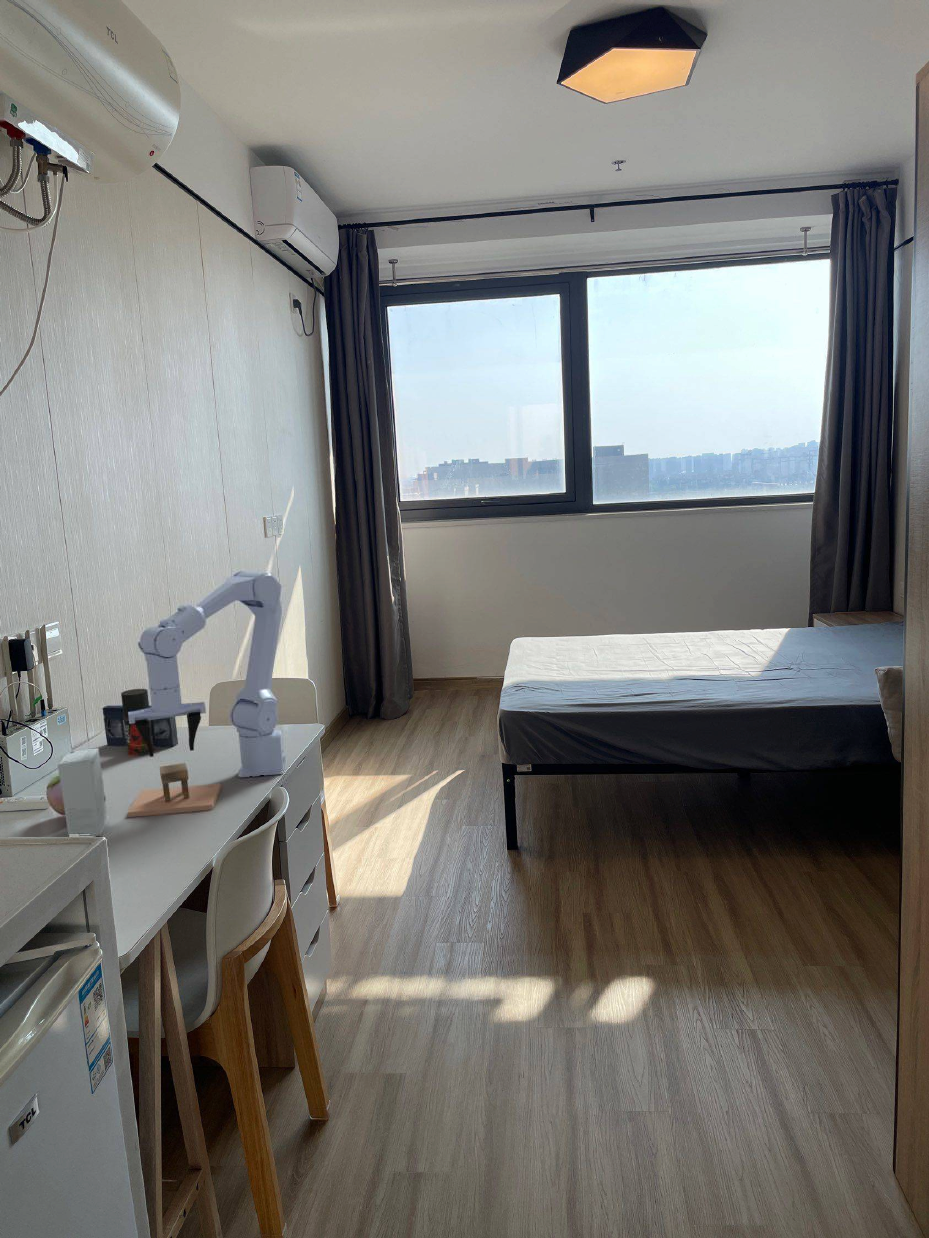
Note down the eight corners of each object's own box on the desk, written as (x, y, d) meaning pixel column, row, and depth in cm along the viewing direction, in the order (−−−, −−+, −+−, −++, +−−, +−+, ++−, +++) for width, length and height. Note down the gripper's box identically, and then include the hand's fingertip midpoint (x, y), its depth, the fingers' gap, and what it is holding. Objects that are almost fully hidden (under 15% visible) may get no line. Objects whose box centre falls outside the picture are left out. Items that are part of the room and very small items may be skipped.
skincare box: (101, 837, 160) (92, 760, 158) (66, 841, 159) (56, 763, 156) (109, 820, 168) (100, 746, 166) (76, 824, 167) (66, 749, 164)
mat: (220, 788, 183) (220, 783, 183) (212, 809, 171) (212, 804, 171) (142, 795, 181) (141, 790, 181) (128, 817, 169) (127, 812, 169)
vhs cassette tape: (106, 746, 217) (101, 707, 215) (113, 742, 220) (109, 704, 218) (172, 748, 213) (168, 708, 211) (179, 744, 216) (174, 705, 214)
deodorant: (122, 754, 209) (115, 694, 206) (140, 747, 214) (133, 688, 212) (142, 756, 207) (135, 695, 204) (159, 749, 212) (152, 689, 209)
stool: (188, 790, 179) (185, 762, 178) (190, 798, 175) (187, 770, 174) (162, 795, 178) (159, 766, 177) (164, 803, 173) (161, 774, 172)
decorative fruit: (81, 805, 177) (75, 758, 175) (107, 811, 173) (101, 763, 171) (38, 822, 169) (32, 773, 167) (65, 829, 165) (59, 778, 163)
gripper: (200, 677, 179) (206, 741, 181) (125, 687, 174) (132, 752, 176) (204, 684, 172) (210, 750, 175) (125, 695, 167) (133, 762, 169)
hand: (171, 752), depth 175 cm, fingers open, 7 cm apart
